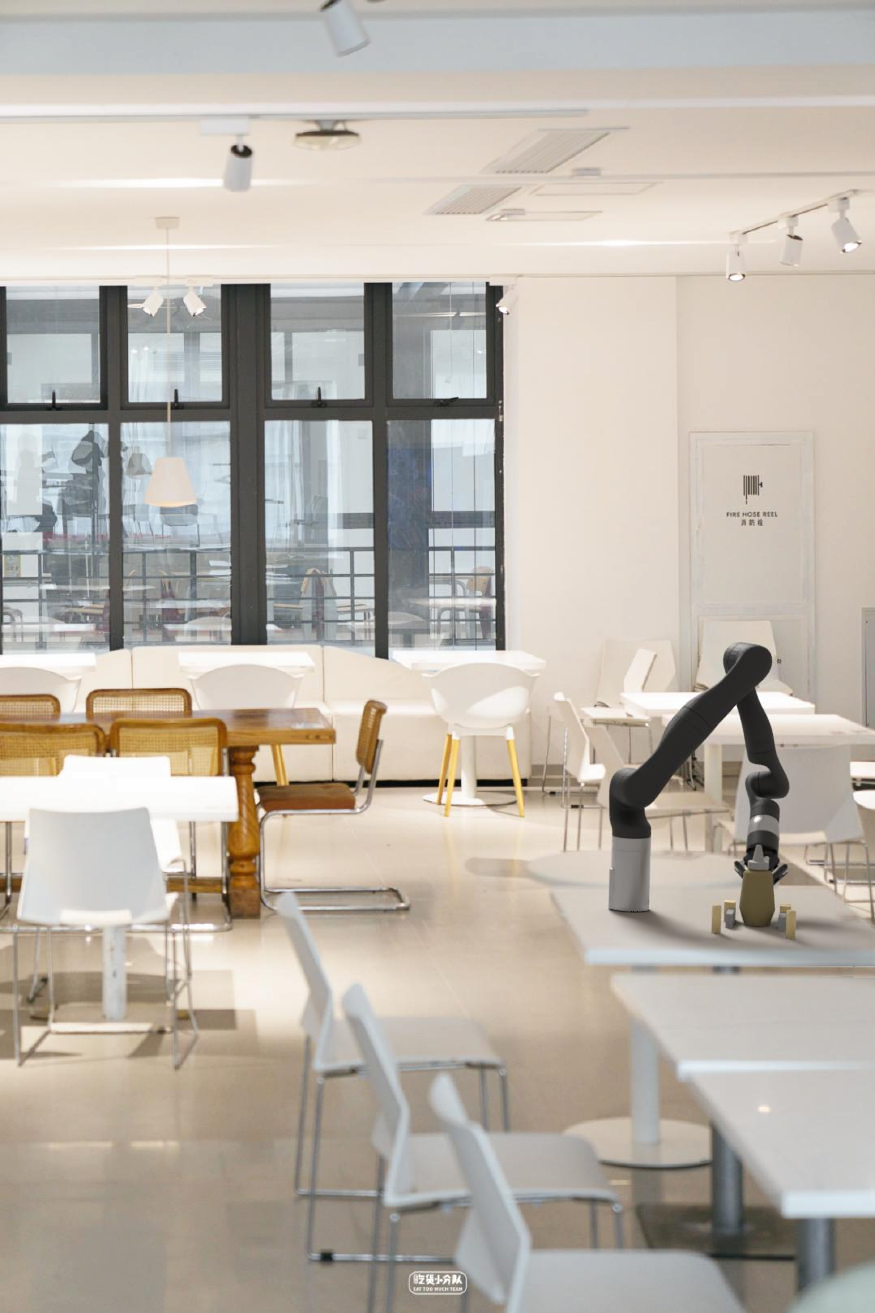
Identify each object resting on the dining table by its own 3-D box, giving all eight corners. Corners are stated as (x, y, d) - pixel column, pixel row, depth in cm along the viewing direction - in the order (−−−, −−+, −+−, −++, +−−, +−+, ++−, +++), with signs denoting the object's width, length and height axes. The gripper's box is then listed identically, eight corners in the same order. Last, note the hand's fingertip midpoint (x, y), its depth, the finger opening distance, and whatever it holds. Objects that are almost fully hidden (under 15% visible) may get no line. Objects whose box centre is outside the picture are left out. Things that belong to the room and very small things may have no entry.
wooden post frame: (711, 933, 335) (711, 906, 335) (717, 918, 353) (718, 892, 353) (795, 939, 331) (795, 911, 331) (797, 924, 348) (798, 898, 348)
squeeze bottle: (772, 929, 341) (774, 849, 341) (736, 926, 344) (738, 846, 344) (776, 923, 349) (779, 844, 349) (740, 919, 352) (743, 842, 351)
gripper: (734, 827, 363) (729, 886, 352) (791, 830, 360) (787, 890, 348) (735, 846, 369) (730, 905, 357) (791, 849, 365) (788, 909, 354)
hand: (758, 898), depth 353 cm, fingers closed
